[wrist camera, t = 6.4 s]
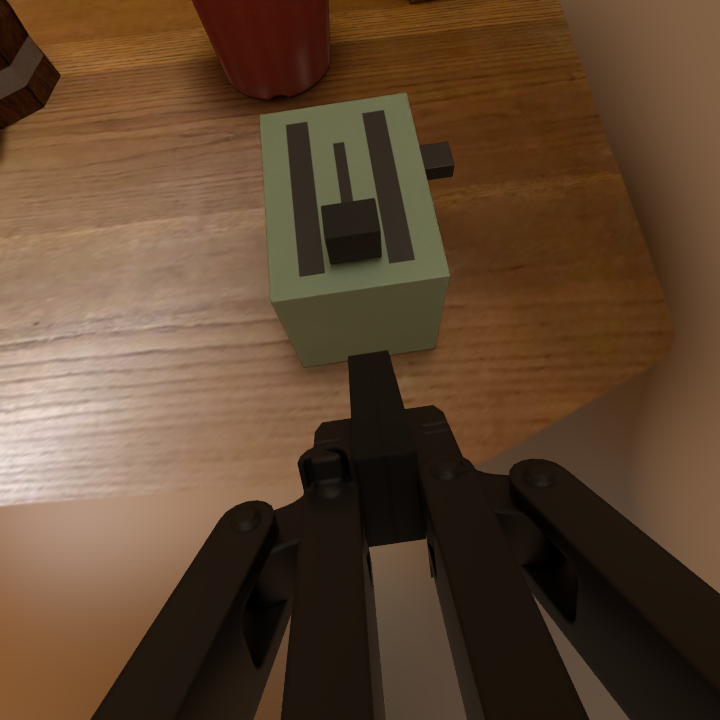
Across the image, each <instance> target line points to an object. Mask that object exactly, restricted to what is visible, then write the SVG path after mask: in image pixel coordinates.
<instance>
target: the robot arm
mask: <svg viewBox="0 0 720 720" xmlns="http://www.w3.org/2000/svg"><path fill="white" fill-rule="evenodd" d="M348 368H349V386H350V404H351V418H350V419H343V420H336V421H330V422H323V423H322V424H321V425H320V426H319V428H318V429H317V430H316V432H315V438H314V447H313V448H311V449H309V450H307V451H306V452H305V453H304V454H303V455H302V456H301V457H300V459H299V461H298V468H299V472H300V476H301V480H302V485H303V489H304V495H303V496H302V497H301V498H300V499H298V500H297V501H295V502H293V503H291V504H289V505H287V506H284V507H282V508H279V509H276V510H274V511H273V508H272V506H271V505H269V504H268V503H266V502H263V501H258V500H256V501H248V502H244V503H242V504H239V505H236V506H235V507H233V508H231V509H230V510H228V511H227V512H226V513H225V514H224V515H223V517H222V518H221V519H220V520H219V521H218V523H217V524H216V526H215V528H214V529H213V531H212V532H211V534H210V535H209V537H208V538H207V540H206V542H205V543H204V545H203V546H202V548H201V549H200V551H199V552H198V554H197V555H196V557H195V558H194V560H193V562H192V563H191V565H190V566H189V568H188V569H187V571H186V572H185V574H184V576H183V577H182V579H181V580H180V582H179V583H178V585H177V586H176V588H175V589H174V591H173V593H172V594H171V596H170V597H169V599H168V600H167V602H166V604H165V605H164V607H163V608H162V610H161V611H160V613H159V614H158V616H157V618H156V619H155V620H154V622H153V624H152V625H151V627H150V628H149V630H148V631H147V633H146V635H145V636H144V637H143V639H142V641H141V642H140V644H139V645H138V647H137V648H136V650H135V651H134V653H133V655H132V656H131V658H130V659H129V661H128V662H127V664H126V665H125V667H124V669H123V670H122V672H121V673H120V675H119V676H118V678H117V679H116V681H115V683H114V684H113V686H112V687H111V689H110V690H109V692H108V694H107V695H106V696H105V698H104V700H103V701H102V703H101V704H100V706H99V707H98V709H97V711H96V712H95V714H94V715H93V716H92V718H91V720H253V719H254V716H255V714H256V711H257V708H258V705H259V702H260V700H261V697H262V694H263V691H264V688H265V686H266V683H267V680H268V677H269V674H270V672H271V669H272V666H273V663H274V660H275V657H276V655H277V652H278V649H279V647H280V644H281V641H282V638H283V635H284V633H285V630H286V627H287V624H288V621H289V619H290V616H291V624H290V635H289V644H288V653H287V663H286V673H285V683H284V693H283V703H282V713H281V720H386V719H385V708H384V697H383V686H382V675H381V663H380V652H379V642H378V630H377V619H376V608H375V597H374V585H373V574H372V563H371V558H370V552H369V547H373V546H380V545H387V544H394V543H400V542H408V541H415V540H422V539H426V537H427V544H428V552H429V561H430V571H431V577H434V580H435V584H436V588H437V593H438V597H439V601H440V605H441V609H442V614H443V618H444V623H445V627H446V631H447V636H448V640H449V644H450V648H451V652H452V657H453V661H454V666H455V670H456V674H457V678H458V682H459V687H460V691H461V695H462V699H463V704H464V708H465V712H466V717H467V720H589V718H588V716H587V713H586V711H585V709H584V707H583V705H582V702H581V700H580V698H579V696H578V694H577V691H576V689H575V687H574V685H573V683H572V680H571V678H570V676H569V674H568V672H567V669H566V667H565V665H564V663H563V661H562V659H561V656H560V654H559V652H558V650H557V648H556V645H555V643H554V641H553V639H552V637H551V634H550V632H549V630H548V628H547V626H546V623H545V621H544V619H543V617H542V615H541V612H540V610H539V608H538V606H537V604H536V602H535V600H534V597H533V595H534V596H535V597H536V599H537V600H538V601H539V603H540V604H541V605H542V606H543V608H544V609H545V610H546V612H547V613H548V614H549V615H550V617H551V618H552V619H553V621H554V622H555V623H556V624H557V626H558V627H559V628H560V630H561V631H562V632H563V634H564V635H565V636H566V637H567V639H568V640H569V641H570V643H571V644H572V645H573V646H574V648H575V649H576V650H577V652H578V653H579V654H580V655H581V657H582V658H583V659H584V661H585V662H586V663H587V665H588V666H589V667H590V669H591V670H592V671H593V672H594V674H595V675H596V676H597V678H598V679H599V680H600V681H601V683H602V684H603V685H604V687H605V688H606V689H607V691H608V692H609V693H610V694H611V696H612V697H613V698H614V700H615V701H616V702H617V703H618V705H619V706H620V707H621V709H622V710H623V711H624V713H625V714H626V715H627V716H628V718H629V719H630V720H720V594H719V593H718V592H717V591H715V590H714V589H713V588H712V587H711V586H709V585H708V584H707V583H706V582H704V581H703V580H702V579H701V578H700V577H698V576H697V575H696V574H694V573H693V572H692V571H691V570H690V569H688V568H687V567H686V566H685V565H683V564H682V563H681V562H680V561H679V560H677V559H676V558H675V557H673V556H672V555H671V554H670V553H668V552H667V551H666V550H665V549H664V548H662V547H661V546H660V545H659V544H658V543H656V542H655V541H654V540H653V539H651V538H650V537H649V536H647V535H646V534H645V533H644V532H642V531H641V530H640V529H639V528H638V527H636V526H635V525H634V524H633V523H632V522H630V521H629V520H628V519H627V518H625V517H624V516H623V515H621V514H620V513H619V512H618V511H617V510H615V509H614V508H613V507H612V506H611V505H609V504H608V503H607V502H606V501H604V500H603V499H602V498H601V497H599V496H598V495H597V494H596V493H595V492H593V491H592V490H591V489H590V488H588V487H587V486H586V485H585V484H583V483H582V482H581V481H580V480H578V479H577V478H576V477H575V476H574V475H572V474H571V473H570V472H569V471H567V470H566V469H565V468H563V467H562V466H560V465H558V464H557V463H554V462H551V461H548V460H544V459H528V460H523V461H521V462H518V463H517V464H514V465H513V467H512V468H511V469H510V474H509V475H497V474H489V473H484V472H481V471H478V470H476V469H475V468H474V466H473V465H472V463H471V462H470V461H469V460H467V459H465V458H463V456H462V454H461V452H460V449H459V447H458V445H457V442H456V440H455V438H454V436H453V433H452V431H451V429H450V427H449V424H448V423H447V420H446V417H445V415H444V413H443V412H442V411H441V410H439V409H438V408H436V407H435V406H434V405H431V406H424V407H417V408H410V409H404V405H403V402H402V398H401V395H400V391H399V388H398V384H397V380H396V377H395V373H394V370H393V366H392V363H391V359H390V356H389V352H388V350H386V351H379V352H372V353H365V354H359V355H352V356H348ZM425 533H426V534H425ZM531 592H532V593H533V595H532V593H531ZM291 613H292V614H291Z"/></svg>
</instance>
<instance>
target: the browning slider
mask: <svg viewBox="0 0 720 720" xmlns="http://www.w3.org/2000/svg"><path fill="white" fill-rule="evenodd" d="M321 213H322V222H323V230H324V239H325V243H326V248H327V252H328V256H329V261H330V264H331V265H333V264H340V263H346V262H353V261H360V260H367V259H373V258H380V257H382V248H381V229H380V223H379V218H378V212H377V206H376V201H375V198H370V199H363V200H357V201H350V202H343V203H337V204H330V205H323V206H321Z"/></svg>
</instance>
